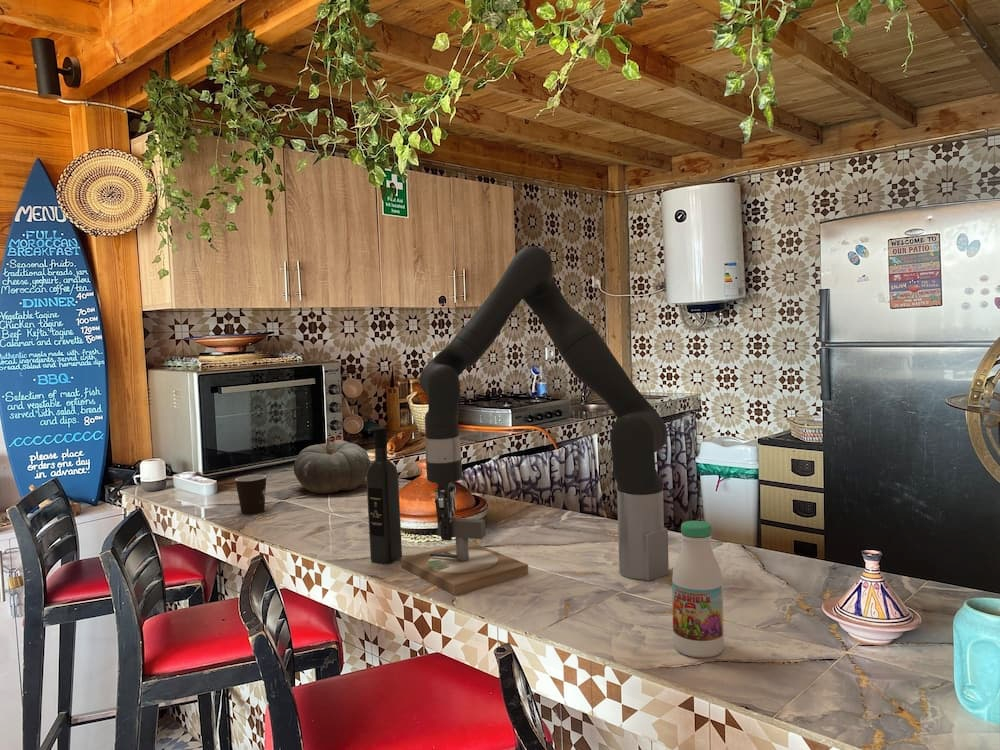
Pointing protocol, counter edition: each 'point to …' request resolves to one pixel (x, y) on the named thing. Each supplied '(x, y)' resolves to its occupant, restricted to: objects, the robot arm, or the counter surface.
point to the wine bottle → (383, 504)
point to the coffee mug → (251, 493)
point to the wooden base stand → (464, 568)
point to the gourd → (331, 467)
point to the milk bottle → (697, 594)
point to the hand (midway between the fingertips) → (448, 536)
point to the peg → (463, 536)
